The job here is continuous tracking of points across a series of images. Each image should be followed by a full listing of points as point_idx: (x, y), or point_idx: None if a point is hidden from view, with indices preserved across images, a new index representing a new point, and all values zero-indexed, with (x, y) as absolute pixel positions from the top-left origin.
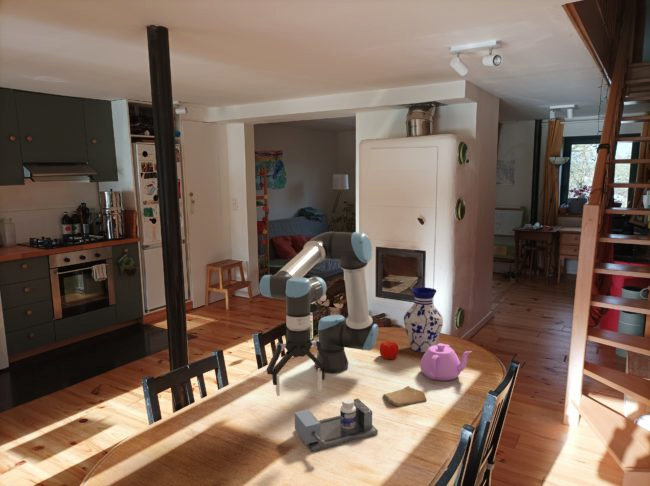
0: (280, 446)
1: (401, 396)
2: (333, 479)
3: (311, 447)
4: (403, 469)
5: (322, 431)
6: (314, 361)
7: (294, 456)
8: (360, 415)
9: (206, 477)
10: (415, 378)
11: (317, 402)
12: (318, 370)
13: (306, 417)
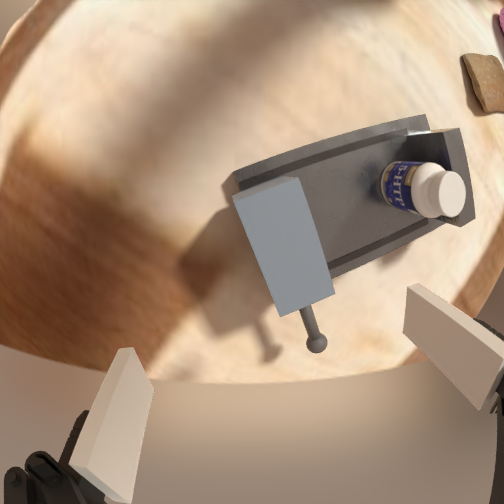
0: (188, 262)
1: (492, 88)
2: (316, 377)
3: None
4: None
5: (324, 212)
6: (497, 490)
7: (232, 309)
8: None
9: (63, 357)
10: (492, 28)
11: (308, 16)
12: (490, 381)
13: (286, 251)
